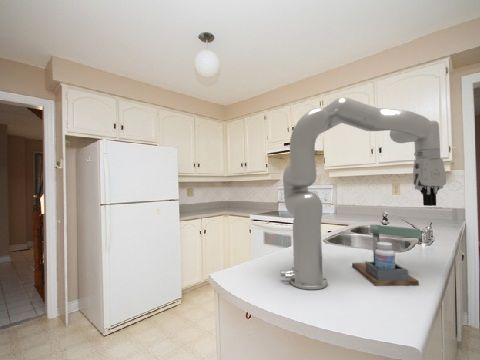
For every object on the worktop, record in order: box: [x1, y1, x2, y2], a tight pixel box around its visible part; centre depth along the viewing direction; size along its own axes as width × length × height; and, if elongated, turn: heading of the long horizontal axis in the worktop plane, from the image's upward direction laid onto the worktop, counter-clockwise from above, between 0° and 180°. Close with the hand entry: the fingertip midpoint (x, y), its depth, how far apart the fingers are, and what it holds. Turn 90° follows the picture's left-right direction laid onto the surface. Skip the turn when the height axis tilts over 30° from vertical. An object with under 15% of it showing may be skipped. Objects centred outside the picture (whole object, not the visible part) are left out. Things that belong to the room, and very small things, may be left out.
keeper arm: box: [369, 223, 422, 239], centre depth 98 cm, size 17×4×3 cm, turn 39°
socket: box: [364, 261, 409, 281], centre depth 90 cm, size 10×10×4 cm
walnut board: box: [351, 262, 420, 287], centre depth 95 cm, size 14×20×2 cm
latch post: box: [372, 233, 381, 262], centre depth 103 cm, size 2×2×12 cm
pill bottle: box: [375, 241, 396, 269], centre depth 90 cm, size 6×6×11 cm
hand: (429, 205), depth 95 cm, fingers closed
